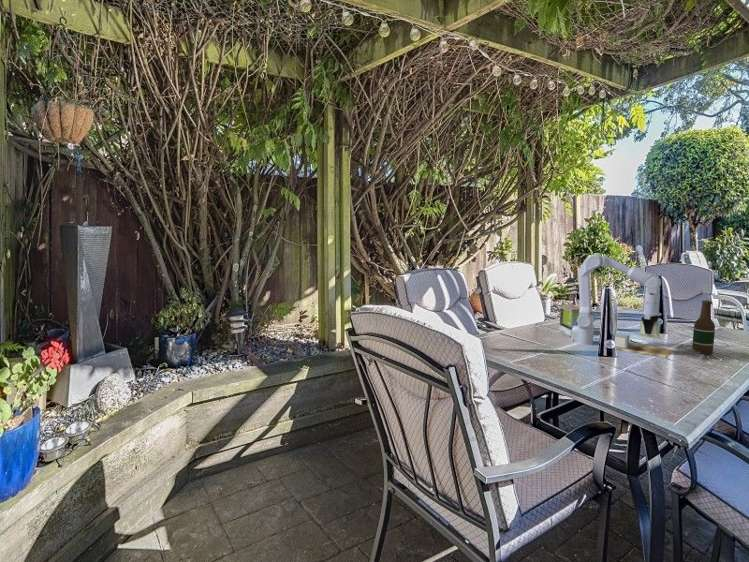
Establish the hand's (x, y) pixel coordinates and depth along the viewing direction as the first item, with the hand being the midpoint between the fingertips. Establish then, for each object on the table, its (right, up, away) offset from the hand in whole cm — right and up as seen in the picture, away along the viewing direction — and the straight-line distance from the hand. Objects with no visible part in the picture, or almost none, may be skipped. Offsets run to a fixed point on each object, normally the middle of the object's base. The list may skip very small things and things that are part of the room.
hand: (649, 332), depth 201 cm
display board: (-2, -9, +5) cm, 11 cm away
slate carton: (-10, -8, +6) cm, 14 cm away
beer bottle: (+26, -10, +3) cm, 28 cm away
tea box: (-16, -5, +40) cm, 43 cm away
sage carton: (0, -2, 0) cm, 2 cm away
